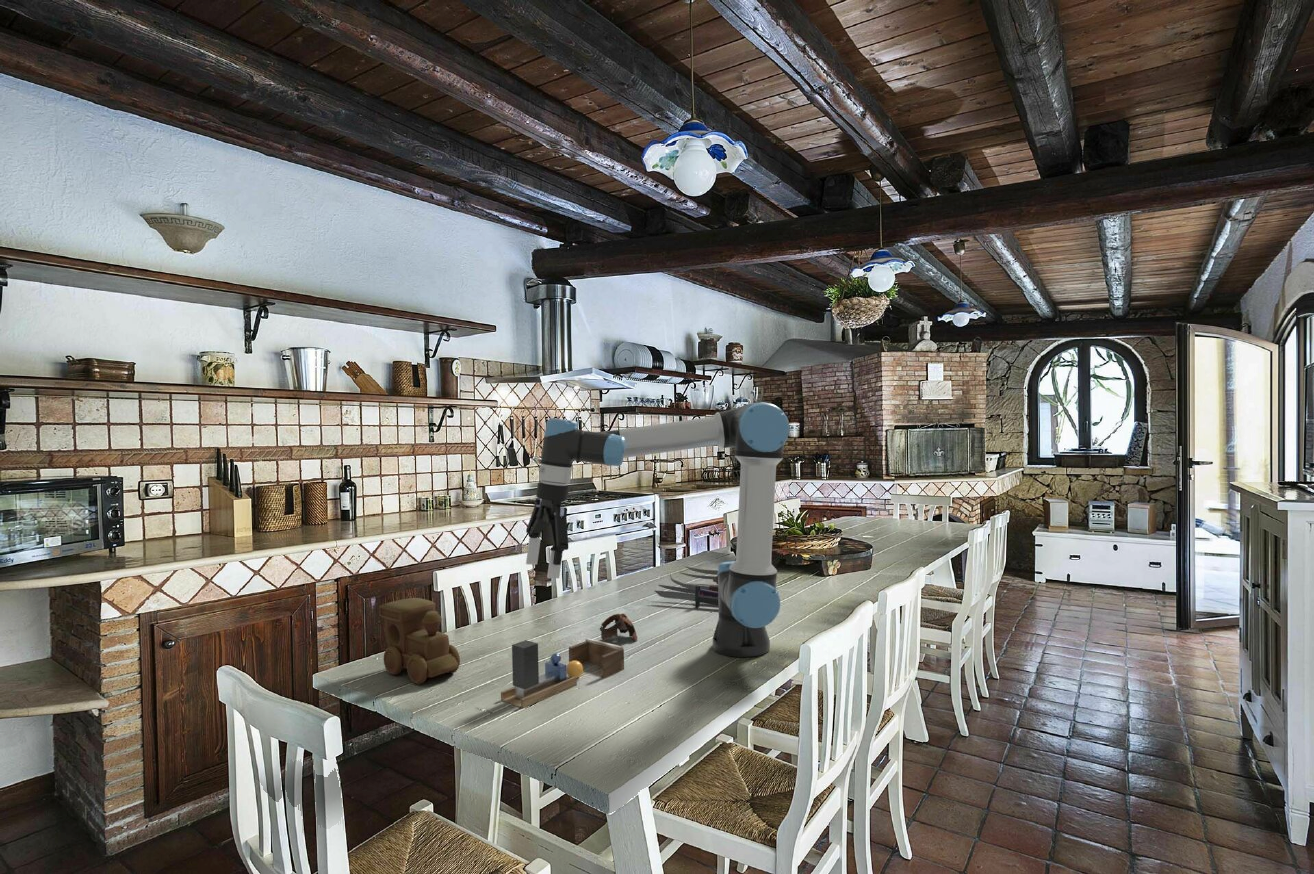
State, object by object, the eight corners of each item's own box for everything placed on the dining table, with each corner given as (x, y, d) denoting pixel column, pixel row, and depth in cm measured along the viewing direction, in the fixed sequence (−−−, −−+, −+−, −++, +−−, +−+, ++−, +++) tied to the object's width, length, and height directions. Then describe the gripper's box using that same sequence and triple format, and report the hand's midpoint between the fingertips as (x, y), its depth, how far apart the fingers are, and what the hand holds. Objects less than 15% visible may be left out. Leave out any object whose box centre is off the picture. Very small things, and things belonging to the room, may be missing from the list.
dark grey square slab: (567, 684, 159) (566, 634, 158) (526, 701, 149) (525, 648, 149) (552, 679, 162) (551, 630, 162) (511, 696, 152) (510, 644, 152)
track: (576, 684, 159) (576, 677, 159) (523, 708, 147) (523, 699, 147) (554, 678, 164) (554, 670, 164) (500, 700, 151) (500, 691, 151)
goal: (624, 669, 169) (623, 646, 169) (604, 677, 163) (604, 654, 163) (588, 659, 176) (588, 637, 176) (569, 667, 171) (568, 645, 171)
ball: (586, 676, 164) (586, 660, 164) (574, 682, 161) (574, 665, 161) (574, 673, 167) (574, 656, 167) (562, 678, 164) (562, 661, 164)
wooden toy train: (377, 671, 171) (375, 605, 170) (418, 658, 180) (416, 595, 179) (423, 690, 158) (421, 618, 158) (465, 675, 167) (463, 607, 167)
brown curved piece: (638, 647, 187) (623, 623, 185) (608, 661, 189) (593, 637, 187) (642, 623, 198) (627, 600, 197) (613, 636, 200) (599, 614, 198)
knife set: (683, 577, 262) (683, 557, 262) (768, 588, 249) (769, 567, 249) (646, 602, 230) (647, 579, 229) (742, 616, 217) (743, 592, 217)
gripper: (520, 475, 173) (509, 558, 174) (560, 489, 152) (547, 584, 152) (548, 477, 177) (537, 559, 178) (590, 491, 156) (578, 584, 156)
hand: (541, 571), depth 165 cm, fingers open, 13 cm apart
